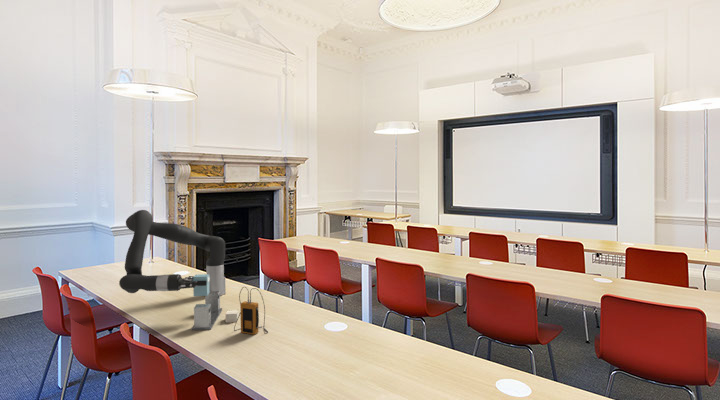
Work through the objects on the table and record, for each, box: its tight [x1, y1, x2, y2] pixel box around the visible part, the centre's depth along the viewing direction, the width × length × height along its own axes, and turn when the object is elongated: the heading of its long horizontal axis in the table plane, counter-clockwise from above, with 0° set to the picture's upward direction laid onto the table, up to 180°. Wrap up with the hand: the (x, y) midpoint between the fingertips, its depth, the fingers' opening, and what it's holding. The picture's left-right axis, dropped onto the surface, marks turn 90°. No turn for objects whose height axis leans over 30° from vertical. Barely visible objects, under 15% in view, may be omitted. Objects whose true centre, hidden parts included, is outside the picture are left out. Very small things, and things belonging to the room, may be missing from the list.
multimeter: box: [233, 286, 269, 336], centre depth 171 cm, size 15×10×20 cm
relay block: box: [225, 309, 239, 323], centre depth 183 cm, size 5×5×4 cm
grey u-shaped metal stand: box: [191, 291, 223, 332], centre depth 183 cm, size 26×8×10 cm, turn 9°
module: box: [192, 273, 210, 297], centre depth 183 cm, size 4×6×9 cm
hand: (207, 281), depth 183 cm, fingers closed on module, 4 cm apart
